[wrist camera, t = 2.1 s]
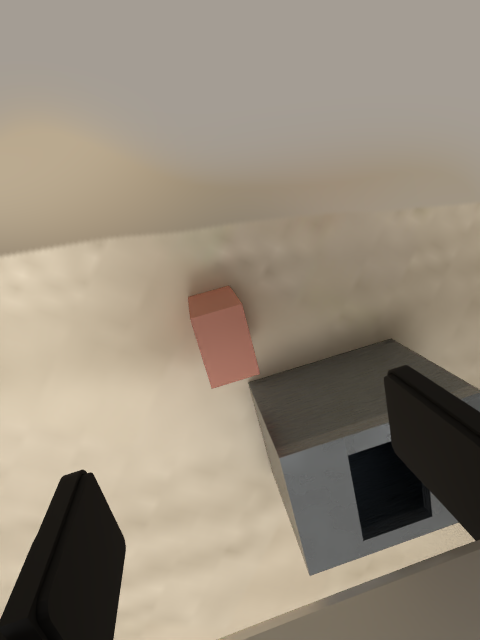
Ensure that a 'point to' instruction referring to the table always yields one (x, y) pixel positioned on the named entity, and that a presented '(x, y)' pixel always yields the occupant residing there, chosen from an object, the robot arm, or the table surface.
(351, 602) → the robot arm
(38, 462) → the table surface
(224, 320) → the block
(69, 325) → the table surface
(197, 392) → the table surface
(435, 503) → the box
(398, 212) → the table surface
